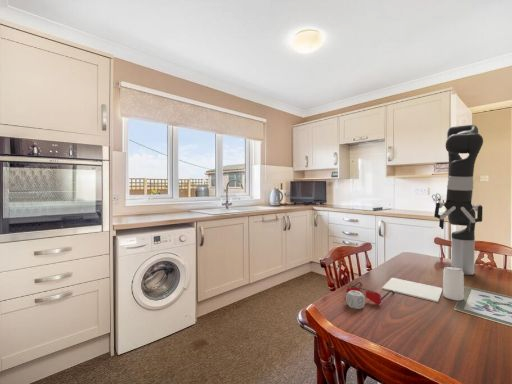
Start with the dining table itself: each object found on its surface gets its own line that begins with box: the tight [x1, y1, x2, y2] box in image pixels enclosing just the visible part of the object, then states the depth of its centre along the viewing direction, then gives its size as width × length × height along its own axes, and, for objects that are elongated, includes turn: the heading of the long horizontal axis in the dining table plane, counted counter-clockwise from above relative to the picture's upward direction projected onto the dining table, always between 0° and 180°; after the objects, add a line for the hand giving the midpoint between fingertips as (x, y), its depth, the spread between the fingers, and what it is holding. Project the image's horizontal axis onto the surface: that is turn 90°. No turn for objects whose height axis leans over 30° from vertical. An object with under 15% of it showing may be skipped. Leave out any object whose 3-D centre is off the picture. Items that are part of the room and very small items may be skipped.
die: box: [345, 290, 366, 310], centre depth 96 cm, size 5×5×5 cm
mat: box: [381, 277, 443, 303], centre depth 111 cm, size 16×20×1 cm
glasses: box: [345, 281, 395, 306], centre depth 106 cm, size 14×16×5 cm
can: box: [442, 265, 465, 302], centre depth 102 cm, size 6×6×12 cm
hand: (455, 230), depth 98 cm, fingers open, 8 cm apart
